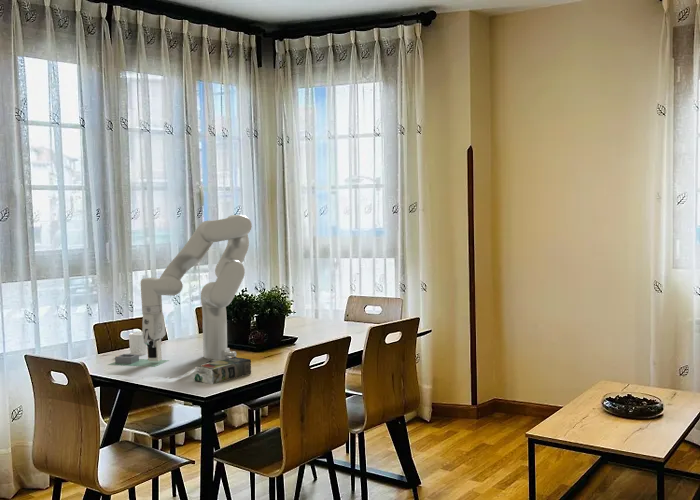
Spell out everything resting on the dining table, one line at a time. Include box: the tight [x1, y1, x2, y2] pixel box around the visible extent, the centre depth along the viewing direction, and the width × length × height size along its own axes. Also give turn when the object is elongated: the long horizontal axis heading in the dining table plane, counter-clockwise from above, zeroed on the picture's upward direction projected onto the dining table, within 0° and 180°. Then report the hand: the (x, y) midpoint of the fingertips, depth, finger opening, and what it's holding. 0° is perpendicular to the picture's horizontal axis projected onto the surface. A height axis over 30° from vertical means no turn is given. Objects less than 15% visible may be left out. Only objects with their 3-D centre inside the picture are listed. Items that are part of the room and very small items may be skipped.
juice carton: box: [194, 356, 252, 385], centre depth 253 cm, size 20×10×6 cm, turn 143°
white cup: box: [128, 331, 148, 356], centre depth 290 cm, size 8×8×10 cm
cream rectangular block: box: [147, 339, 163, 361], centre depth 272 cm, size 4×3×8 cm
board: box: [107, 353, 170, 368], centre depth 273 cm, size 20×12×4 cm, turn 77°
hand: (154, 356), depth 272 cm, fingers closed on cream rectangular block, 3 cm apart
